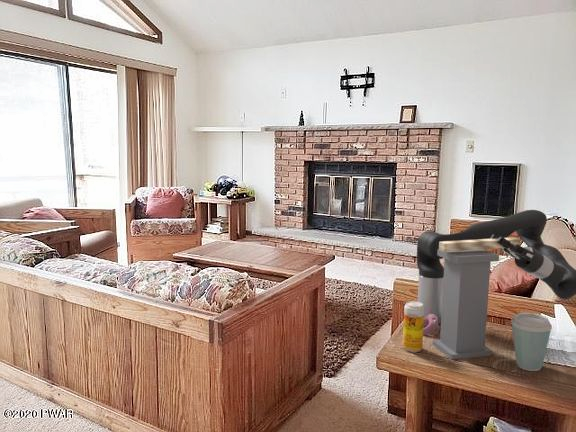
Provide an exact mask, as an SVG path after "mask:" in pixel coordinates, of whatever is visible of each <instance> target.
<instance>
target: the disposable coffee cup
mask: <svg viewBox="0 0 576 432" xmlns="http://www.w3.org/2000/svg"><path fill="white" fill-rule="evenodd" d="M510 323H511V328H512V338H513V345H514V355H515V362H516V364H517V367H518V368H520V369H521V370H525V371H529V372H538V371H540V370H541V369H542V367H543V365H544V361H545V356H546V351H547V348H548V345H549V339H550V335H551V331H552V329H553V328H552V327H553V326H552V323H551V322H550V320H549V319H548V318H547V317H546V316H544V315H542V314H538V313H533V312H520V313H519V312H518V313H516V314H515V315H514V316H513V317H512V318H511V320H510Z"/></svg>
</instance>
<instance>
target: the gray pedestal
mask: <svg viewBox="0 0 576 432" xmlns="http://www.w3.org/2000/svg"><path fill="white" fill-rule="evenodd" d="M437 255H438V256H440V257H443V259H444V262H443V263H444V264H443V267H444V278H443V296H442V315H441V323H440V335H439V338H440V339H434V340H432V346H434V347H435V348H436V349H437V350H439V351H440V352H441V353H443V354H444V355H445V356H446V357H447V358H449V359H451V360H460V359H468V358H469V359H470V358H478V357H488V356H493V350H492V349H490V348H489V347H488V346H486V336H487V335H486V334H487V333H486V332H487V319H488V307H489V305H488V304H489V293H490V292H489V289H490V278H491V277H490V276H491V274H490V273H491V263H493V262H499V259H500V254H498V253H495V252H492V251H489V250H488V249H480V250H465V251H449V252H443V251H441V250H439V249H438V251H437Z"/></svg>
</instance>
